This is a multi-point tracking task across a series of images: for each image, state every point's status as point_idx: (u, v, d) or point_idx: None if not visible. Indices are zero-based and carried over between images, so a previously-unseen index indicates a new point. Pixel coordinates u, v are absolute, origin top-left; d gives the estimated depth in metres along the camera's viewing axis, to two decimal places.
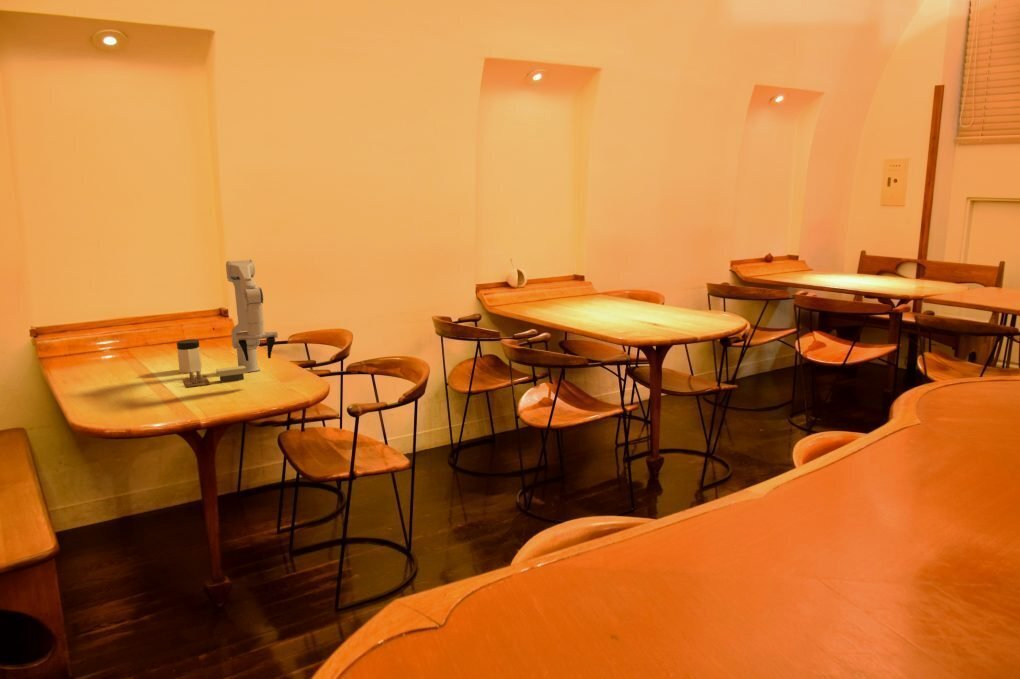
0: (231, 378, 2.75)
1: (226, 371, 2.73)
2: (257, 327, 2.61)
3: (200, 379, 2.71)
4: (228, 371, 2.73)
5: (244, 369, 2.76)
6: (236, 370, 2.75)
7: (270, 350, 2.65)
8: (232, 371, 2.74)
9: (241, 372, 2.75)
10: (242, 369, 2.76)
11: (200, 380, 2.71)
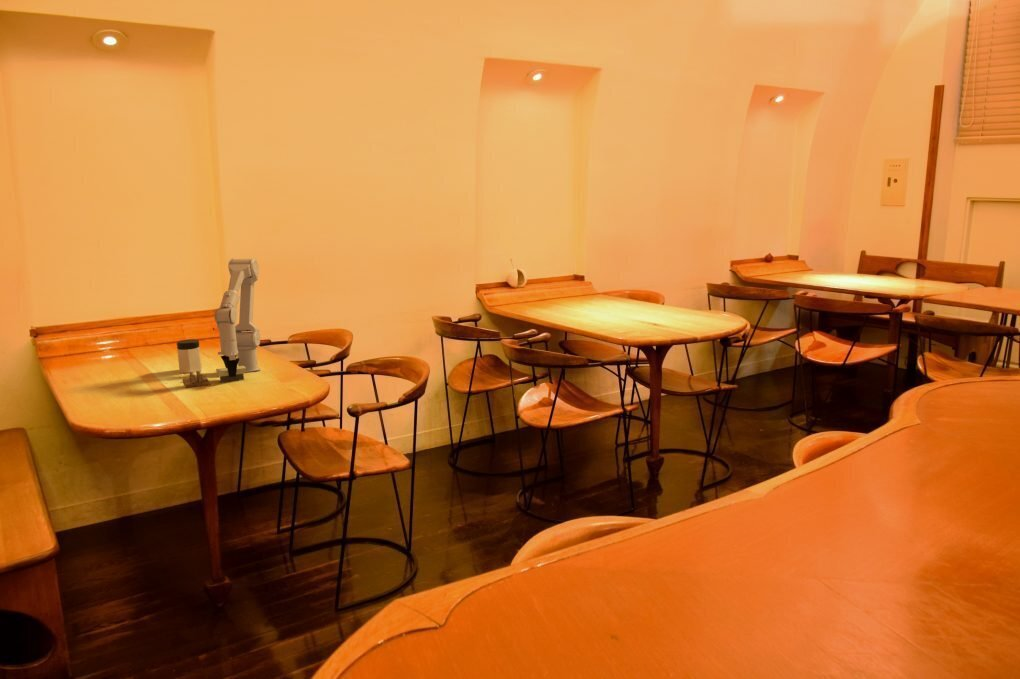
0: (231, 378, 2.75)
1: (226, 371, 2.73)
2: (220, 344, 2.72)
3: (200, 379, 2.71)
4: None
5: (244, 369, 2.76)
6: None
7: (227, 369, 2.72)
8: None
9: (241, 372, 2.75)
10: (242, 369, 2.76)
11: (200, 380, 2.71)
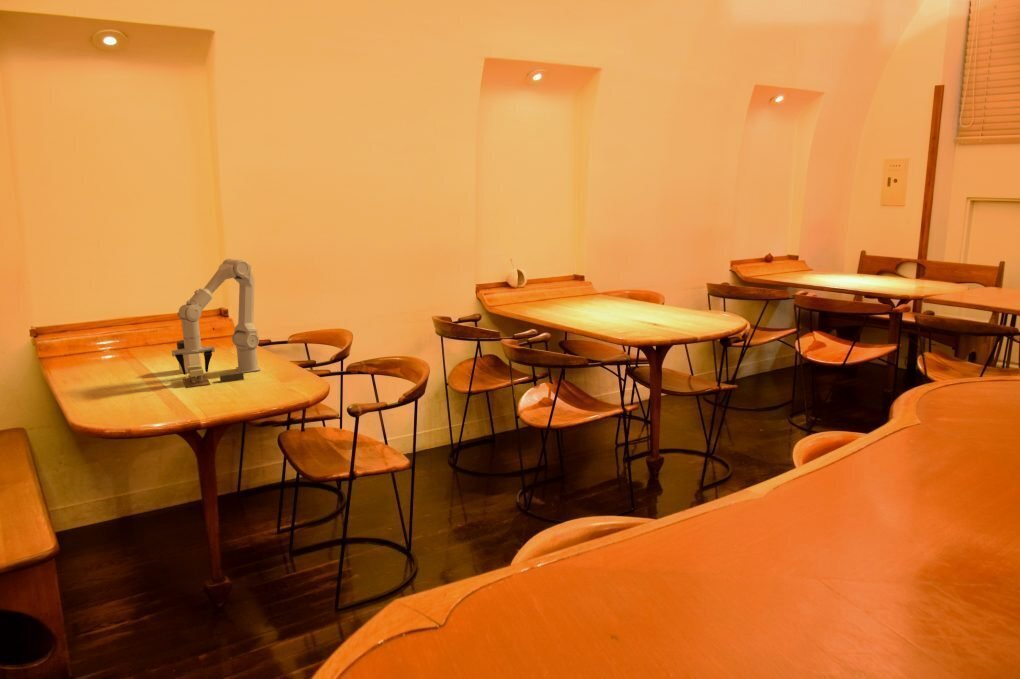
0: (231, 378, 2.75)
1: (202, 369, 2.73)
2: (194, 342, 2.69)
3: (200, 379, 2.71)
4: (202, 369, 2.74)
5: None
6: None
7: (207, 364, 2.74)
8: (201, 368, 2.75)
9: None
10: (200, 366, 2.78)
11: (200, 380, 2.71)
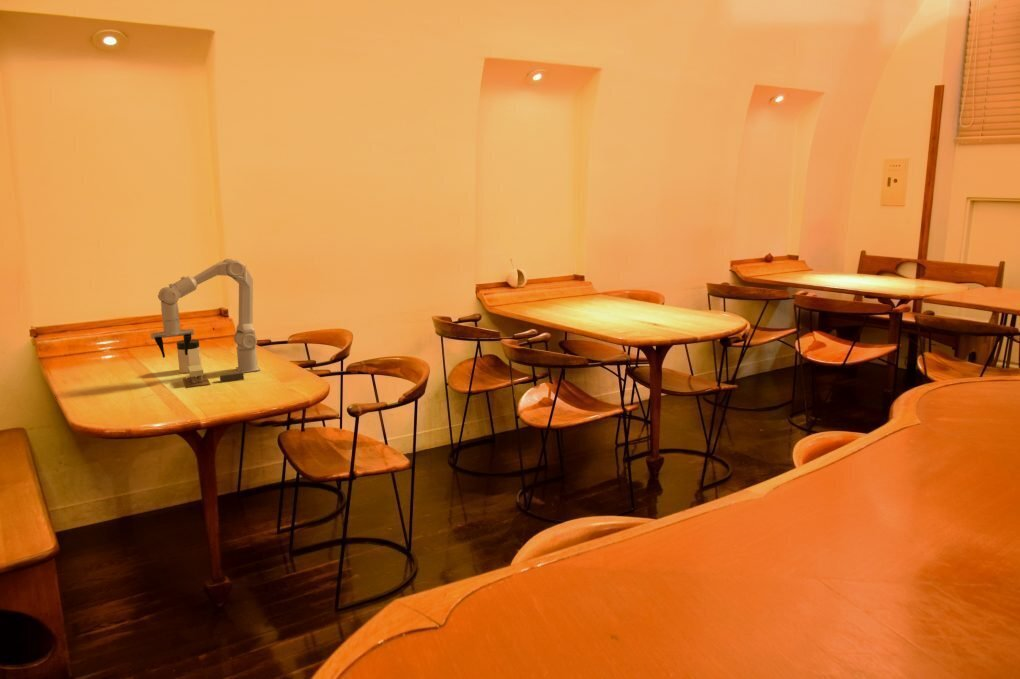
0: (231, 378, 2.75)
1: (202, 369, 2.73)
2: (173, 325, 2.69)
3: (200, 379, 2.71)
4: (202, 369, 2.74)
5: None
6: None
7: (187, 347, 2.74)
8: (201, 368, 2.75)
9: None
10: (200, 366, 2.78)
11: (200, 380, 2.71)
